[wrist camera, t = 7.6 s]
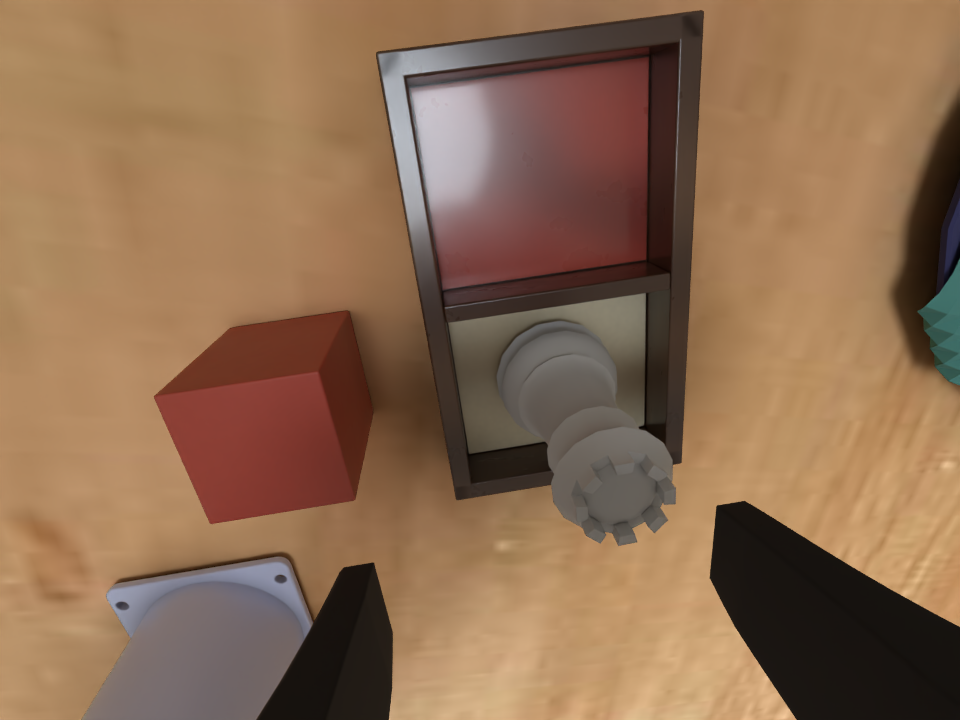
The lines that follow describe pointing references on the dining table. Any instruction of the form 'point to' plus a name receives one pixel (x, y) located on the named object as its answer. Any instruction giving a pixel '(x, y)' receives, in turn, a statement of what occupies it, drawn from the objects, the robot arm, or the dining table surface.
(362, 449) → the brick-red block
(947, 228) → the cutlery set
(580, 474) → the rook chess piece
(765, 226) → the dining table surface
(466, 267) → the tray
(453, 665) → the dining table surface
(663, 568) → the dining table surface
